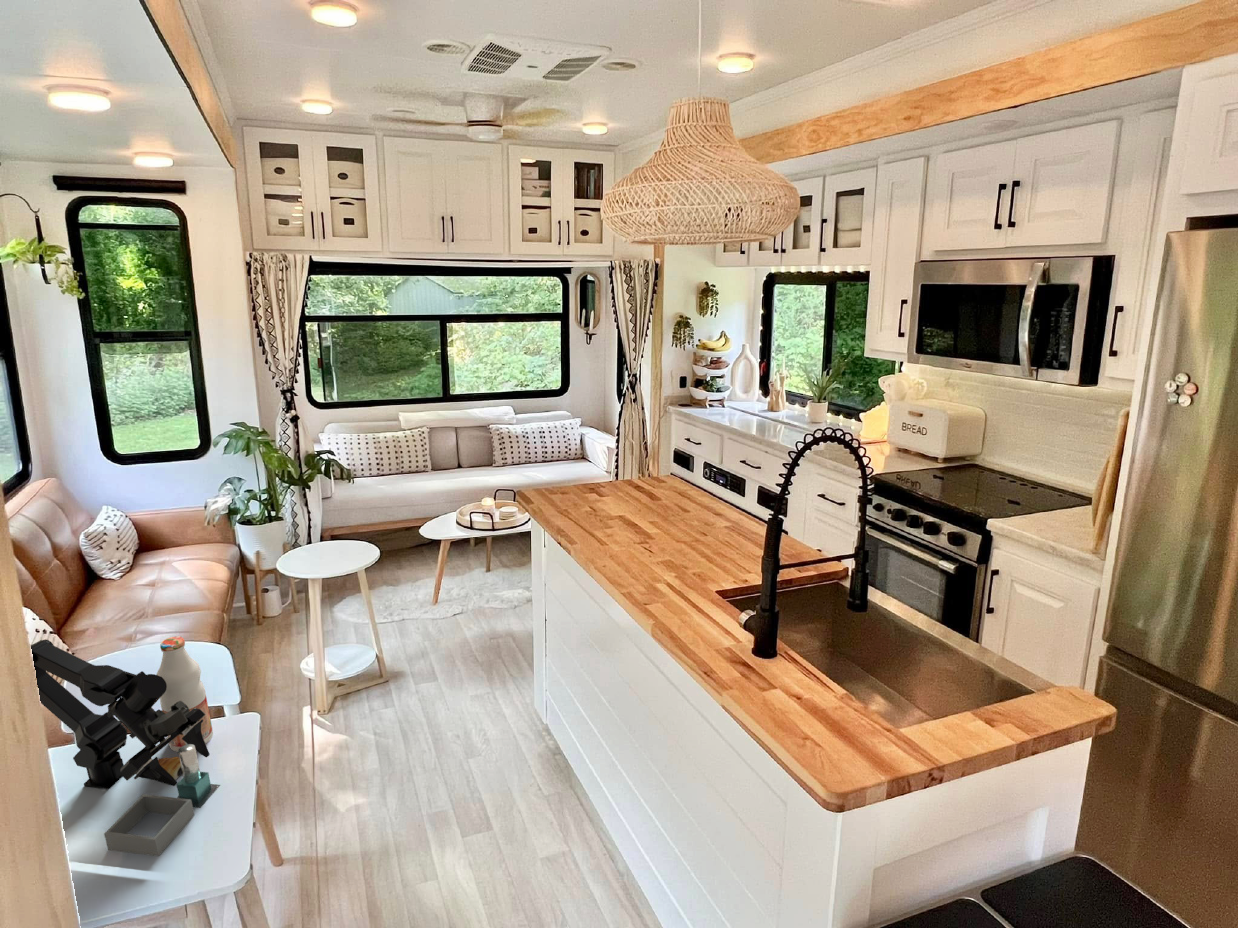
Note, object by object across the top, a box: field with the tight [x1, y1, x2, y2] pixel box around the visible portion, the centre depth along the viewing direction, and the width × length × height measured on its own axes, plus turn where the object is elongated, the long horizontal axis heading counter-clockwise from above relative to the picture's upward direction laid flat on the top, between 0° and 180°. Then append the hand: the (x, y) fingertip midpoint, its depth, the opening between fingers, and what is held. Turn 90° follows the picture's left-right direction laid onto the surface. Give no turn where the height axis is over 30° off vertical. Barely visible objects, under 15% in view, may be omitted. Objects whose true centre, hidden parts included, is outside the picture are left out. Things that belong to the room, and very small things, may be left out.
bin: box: [103, 793, 195, 857], centre depth 158 cm, size 11×11×5 cm
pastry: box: [158, 756, 183, 781], centre depth 176 cm, size 9×7×4 cm
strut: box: [176, 744, 212, 803], centre depth 167 cm, size 4×4×12 cm
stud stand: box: [176, 783, 221, 809], centre depth 169 cm, size 7×7×4 cm
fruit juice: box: [156, 635, 214, 753], centre depth 182 cm, size 9×9×28 cm
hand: (192, 769), depth 167 cm, fingers open, 9 cm apart
